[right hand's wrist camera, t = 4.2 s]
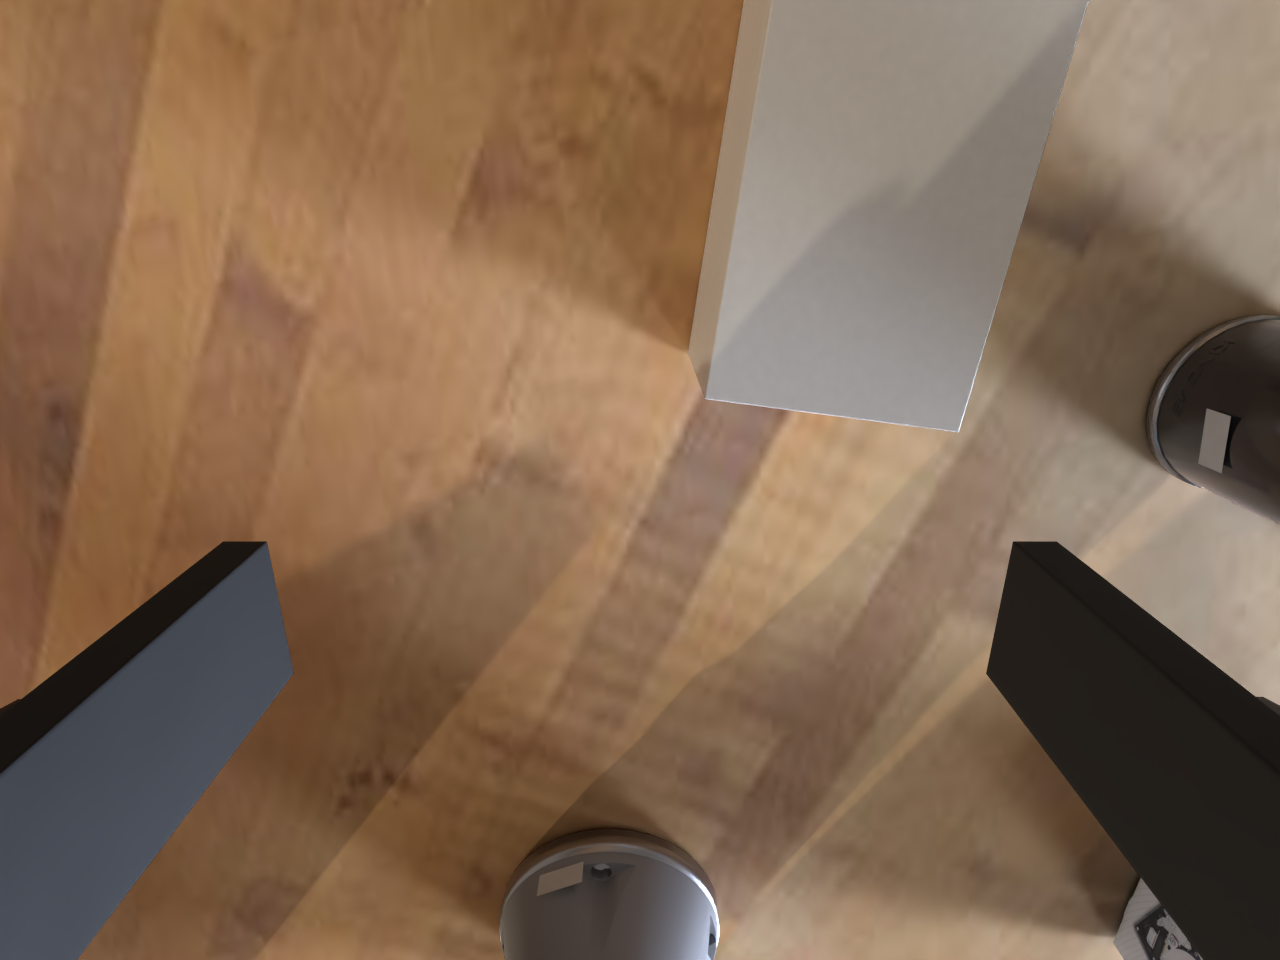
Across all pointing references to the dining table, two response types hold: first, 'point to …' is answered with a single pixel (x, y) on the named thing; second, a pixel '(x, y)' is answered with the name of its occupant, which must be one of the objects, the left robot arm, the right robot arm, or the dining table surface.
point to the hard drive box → (1151, 931)
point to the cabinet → (872, 199)
